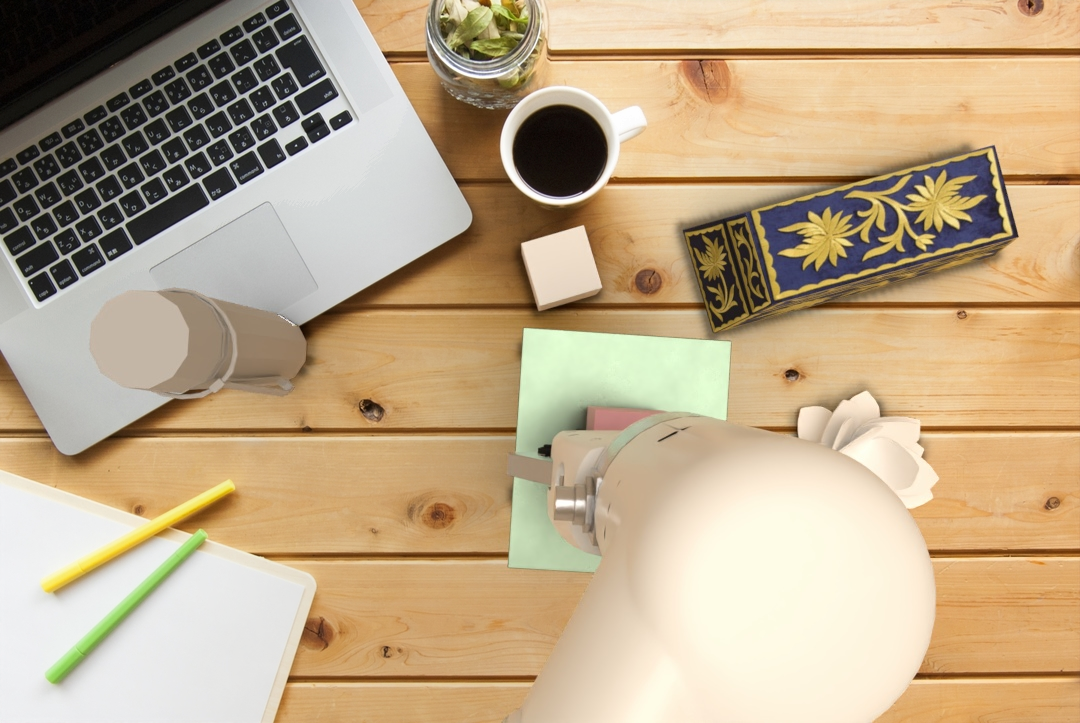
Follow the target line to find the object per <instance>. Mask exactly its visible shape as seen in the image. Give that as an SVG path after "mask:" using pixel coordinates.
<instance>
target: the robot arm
mask: <svg viewBox="0 0 1080 723" xmlns="http://www.w3.org/2000/svg"><path fill="white" fill-rule="evenodd" d="M505 464H506V466H505V475H506V476H509V477H512V478H513V477H517V478H521V479H525V480H529V481H533V482H537V483H542V484H546V485H550V486H551V487H548V491H547V506H548V516H549V518H550V520H551V522H552V524H553V526H554V528H555V529H556V531H557V532H558V533H559V534H560V536H561V537H562V538H564V539H565V540H566V541H567V542H568V543H570V544H571V545H573V546H574V547H576V548H578V549H580V550H582V551H584V552H586V553H589V554H593V555H597V556H602V560H601V562H600V564H599V566H598V568H597V569H596V571H595V573H593V575H592V577H591V579H590V581H589V583H588V584H587V586H586V588H585V590H584V592H583V593H582V595H581V597H580V599H579V601H578V603H577V605H576V606H575V608H574V610H573V612H572V614H571V615H570V617H569V620H568V621H567V623H566V624H565V627H564V628H563V630H562V631H561V634H560V636H559V637H558V640H557V641H556V643H555V645H554V646H553V648H552V650H551V652H550V653H549V655H548V657H547V659H546V660H545V662H544V664H543V666H542V667H541V669H540V671H539V673H538V675H536V677H535V679H534V682H533V683H532V685H531V687H530V688H529V690H528V692H527V694H526V696H525V697H524V699H523V701H522V703H521V704H520V706H519V707H517V708H515V709H514V710H512V711H510V713H508V714H507V715H506V716H505V717H504V719H503V720H502V721H501V723H873V722H874V721H875V720H877V719H878V718H879V717H880V716H882V715H883V714H885V713H886V712H887V711H888V710H890V709H891V707H892V706H893V705H894V704H895V703H896V702H897V701H898V700H899V698H901V696H902V695H903V694H904V693H905V692H906V691H907V689H908V688H909V686H910V685H911V683H912V681H913V679H914V678H915V677H916V675H917V674H918V672H919V670H920V669H921V667H922V663H923V662H924V659H925V657H926V655H927V652H928V649H929V647H930V644H931V641H932V635H933V631H934V630H933V629H934V626H935V621H936V614H937V613H936V612H937V611H936V610H937V585H936V580H935V579H936V577H935V570H934V565H933V563H932V562H933V561H932V559H931V556H930V553H929V552H930V551H929V549H928V545H927V543H926V540H925V537H924V536H923V533H922V532H921V529H920V527H919V525H918V524H917V522H916V519H915V518H914V517H913V515H912V514H911V512H910V511H909V508H906V506H905V505H904V503H903V502H902V500H901V499H900V498H899V497H898V496H897V495H896V494H895V493H894V492H893V491H892V489H891V488H890V487H889V486H888V485H887V484H886V483H885V482H884V481H883V480H882V479H881V478H879V477H878V476H877V475H876V474H875V473H873V472H872V471H871V470H870V469H868V468H867V467H865V466H864V465H863V464H861V463H860V462H858V461H856V460H855V459H853V458H851V457H849V456H847V455H845V454H843V453H841V452H839V451H836V450H834V449H831V448H829V447H826V446H824V445H821V444H818V443H815V442H812V441H809V440H805V439H801V438H798V436H797V437H796V436H792V435H788V434H785V433H784V434H783V433H779V432H776V431H771V430H767V429H763V428H759V427H755V426H751V425H746V424H742V423H736V422H734V421H730V420H727V421H726V420H721V419H716V418H713V417H708V416H704V415H700V414H695V413H690V412H678V411H677V412H666V413H659V414H654V415H651V416H648V417H645V418H643V419H641V420H639V421H637V422H635V423H633V424H631V425H629V426H628V427H627V428H625V429H624V430H585V429H576V430H572V431H561V432H559V433H558V434H557V435H556V436H555V437H554V438H553V441H552V445H550V444H545V445H544V447H541V448H538V453H537V452H532V451H528V452H515V451H507V452H506V463H505Z"/></svg>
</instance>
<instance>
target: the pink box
mask: <svg viewBox="0 0 1080 723" xmlns="http://www.w3.org/2000/svg"><path fill="white" fill-rule="evenodd" d="M666 412H667V411H663V410H647V409H631V408H615V407H600V406H588V410H587V426H586V430H624V429H625V428H627V427H628V426H629V425H631V424H633V423H635V422H637V421H639V420H641V419H643V418H645V417H648V416H651V415H654V414H659V413H666Z"/></svg>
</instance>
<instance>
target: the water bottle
mask: <svg viewBox="0 0 1080 723" xmlns="http://www.w3.org/2000/svg"><path fill="white" fill-rule="evenodd" d="M275 313H276V312H272V311H268V310H263V309H259V308H255V307H252V306H251V307H250V306H247V305H243V304H239V303H235V302H231V301H226V300H223V299H217V298H213V297H210V296H206V295H205V294H203V293H200V292H198V291H196V290H193V289H187V288H181V287H175V286H174V287H168V288H163V289H160V290H137V289H136V290H134V289H129V290H127V291H124V292H122V293H120V294H118V295H117V296H115V297H112V298H110V299H108V300H106V301H105V302H104V304H103V305H102V306H101V308H100V309H99V311H98V312H97V314H96V315H95V317H94V318H93V320H92V321H91V323H90V332H89V344H88V350H89V352H90V355H91V356H92V358H93V361H94V363H95V364H96V366H97V369H98V370H99V372H100V374H102V375H103V376H105V377H106V378H108V379H109V380H110V381H112V382H114V383H116V384H117V385H118V386H120V387H122V388H126V389H133V390H139V391H148V392H151V393H154V394H156V395H157V396H160V397H165V398H171V399H176V400H177V399H178V400H190V399H202V398H205V397H207V396H208V395H211V394H212V393H213V394H216V393H218V392H220V391H221V390H223V389H224V390H231V391H238V392H239V391H240V392H246V393H255V394H261V395H267V396H274V397H286V396H288V395H289V394H290V393H292V392H293V391H294V390H295V389H296V388H295V386H294V384H293V383H292V382H291V381H290V380H292V379H294V378H296V376H297V375H298V373H299V372H300V370H301V369H302V367H303V366H304V365H305V363H306V359H307V346H308V345H307V344H308V342H307V340H306V338H305V336H304V334H303V332H302V330H301V327H300V326H299V325H298V327H293V326H292V324H291V323H289V322H288V321H286V320H285V319H283V318H281V317H280V316H278V315H277V314H278V313H276V314H275ZM272 386H273V387H272ZM274 386H275V387H274ZM277 386H279V387H280V388H277ZM189 390H191V391H192V390H202V391H199V392H193V393H185V392H186V391H189Z"/></svg>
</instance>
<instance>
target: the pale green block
mask: <svg viewBox="0 0 1080 723" xmlns="http://www.w3.org/2000/svg"><path fill="white" fill-rule="evenodd" d="M732 344H733V343H732V340H728V339H727V340H725V339H709V338H696V337H695V338H694V337H682V336H681V337H680V336H679V337H678V336H664V335H663V336H662V335H651V334H650V335H649V334H633V333H618V332H603V331H587V330H571V329H557V328H543V327H541V328H539V327H526V326H525V327H523V328H522V337H521V351H520V354H521V355H520V367H519V369H520V370H519V384H518V399H517V415H516V416H517V417H516V429H515V443H514V444H515V445H514V446H515V447H514V448H515V449H514V452H528V451H532V452H537V453H538V448H541V447H544V445H545V444H550V445H552V441H553V438H554V437H555V436H556V435H557V434H558V433H559V432H561V431H572V430H576V429H585V430H586V426H587V410H588V406H600V407H615V408H631V409H647V410H663V411H667V412H677V411H678V412H690V413H695V414H700V415H704V416H708V417H713V418H716V419H721V420H726V421H728V410H729V396H730V394H729V393H730V379H731V378H730V377H731V363H732V362H731V359H732V358H731V357H732V346H733V345H732ZM548 487H551V486H550V485H546V484H542V483H537V482H533V481H529V480H525V479H521V478H517V477H513V476H512V490H511V492H512V494H511V507H510V508H511V509H510V524H509V539H508V555H507V569H517V570H531V571H532V570H535V571H550V572H567V573H586V574H594V573H595V571H596V569H597V568H598V566H599V564H600V562H601V560H602V556H597V555H593V554H589V553H586V552H584V551H582V550H580V549H578V548H576V547H574V546H573V545H571V544H570V543H568V542H567V541H566V540H565V539H564V538H562V537H561V536H560V534H559V533H558V532H557V531H556V529H555V528H554V526H553V524H552V522H551V520H550V518H549V516H548V506H547V491H548Z"/></svg>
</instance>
